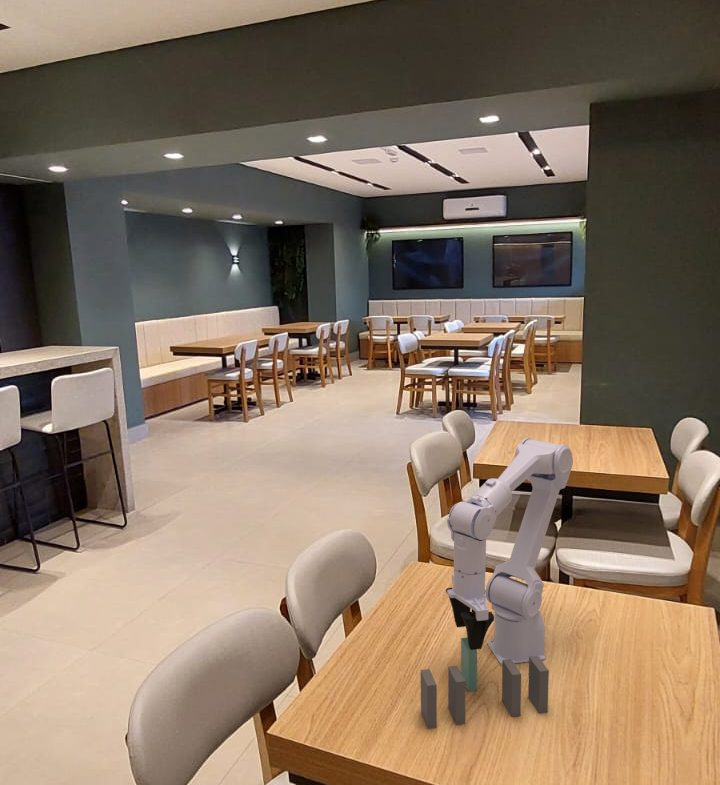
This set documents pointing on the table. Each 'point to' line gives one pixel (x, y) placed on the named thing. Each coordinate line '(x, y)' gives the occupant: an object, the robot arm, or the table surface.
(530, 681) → the domino
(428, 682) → the domino
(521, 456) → the robot arm
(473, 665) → the teal domino
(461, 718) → the domino
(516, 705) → the domino
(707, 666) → the table surface
